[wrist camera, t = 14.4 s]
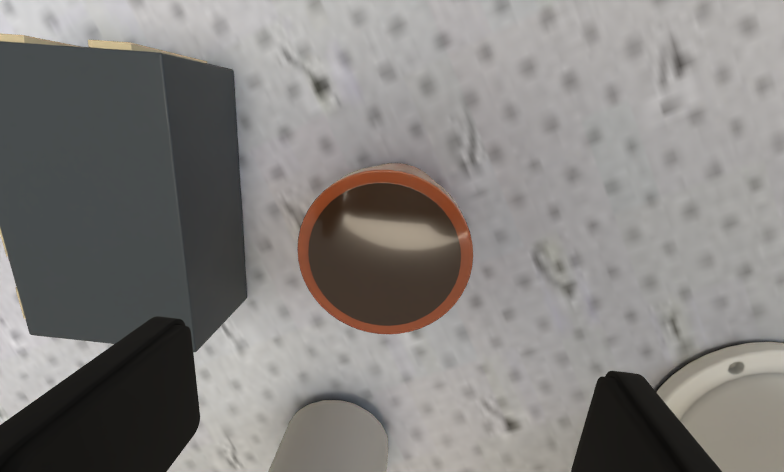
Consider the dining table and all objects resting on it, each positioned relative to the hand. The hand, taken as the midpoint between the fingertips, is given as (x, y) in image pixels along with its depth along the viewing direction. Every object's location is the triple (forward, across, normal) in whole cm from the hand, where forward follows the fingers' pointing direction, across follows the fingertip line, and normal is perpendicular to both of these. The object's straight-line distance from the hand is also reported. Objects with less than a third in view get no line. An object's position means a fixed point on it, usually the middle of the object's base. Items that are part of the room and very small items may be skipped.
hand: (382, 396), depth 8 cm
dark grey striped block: (+14, +15, -1) cm, 21 cm away
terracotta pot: (+14, +1, -1) cm, 14 cm away
